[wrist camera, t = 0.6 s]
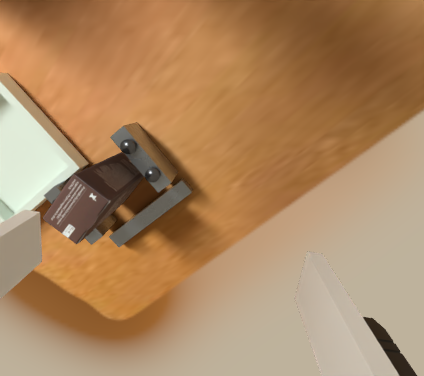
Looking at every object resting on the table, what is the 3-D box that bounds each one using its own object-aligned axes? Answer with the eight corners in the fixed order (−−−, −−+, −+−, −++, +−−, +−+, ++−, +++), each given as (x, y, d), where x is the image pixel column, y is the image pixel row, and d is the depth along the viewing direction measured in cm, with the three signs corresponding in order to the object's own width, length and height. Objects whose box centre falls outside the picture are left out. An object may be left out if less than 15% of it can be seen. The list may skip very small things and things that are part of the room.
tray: (-61, 144, 38) (-81, 147, 36) (7, 73, 35) (-10, 71, 33) (19, 223, 41) (6, 231, 38) (89, 163, 38) (79, 168, 35)
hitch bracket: (65, 183, 39) (40, 197, 34) (136, 122, 36) (121, 126, 31) (121, 243, 41) (106, 264, 36) (192, 189, 38) (187, 204, 33)
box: (120, 149, 37) (72, 172, 26) (148, 172, 38) (114, 203, 26) (94, 184, 39) (39, 219, 27) (122, 204, 40) (79, 248, 28)
